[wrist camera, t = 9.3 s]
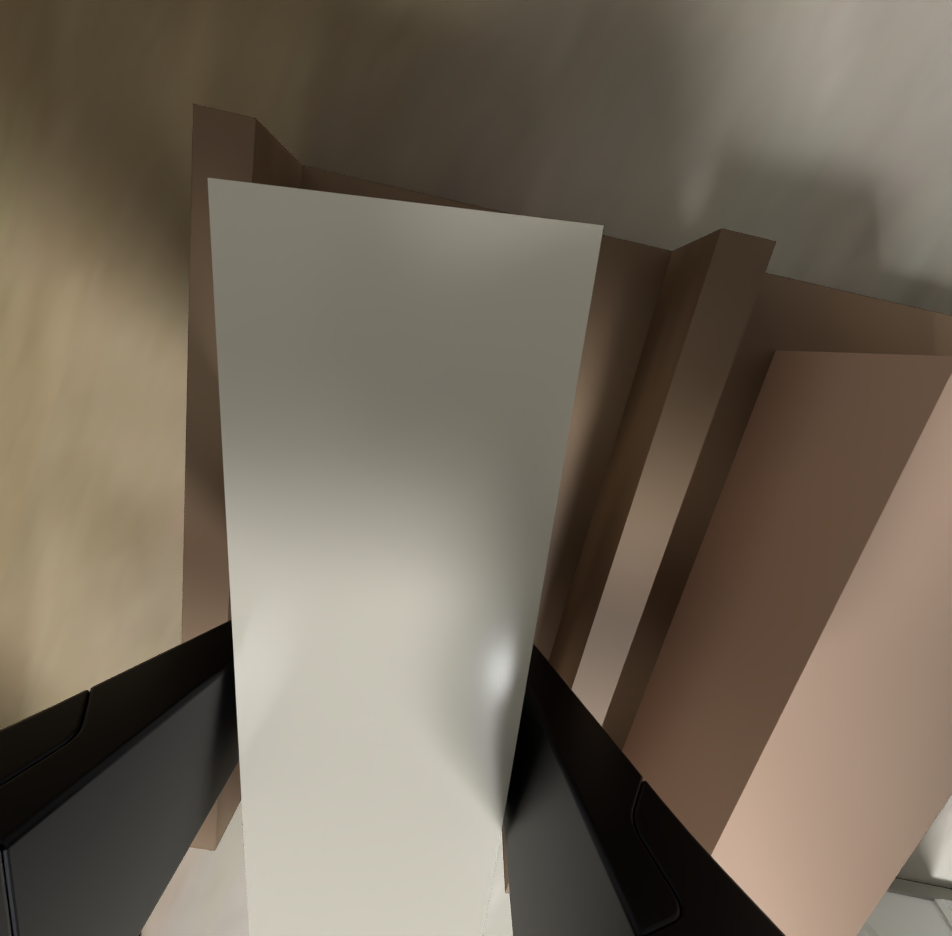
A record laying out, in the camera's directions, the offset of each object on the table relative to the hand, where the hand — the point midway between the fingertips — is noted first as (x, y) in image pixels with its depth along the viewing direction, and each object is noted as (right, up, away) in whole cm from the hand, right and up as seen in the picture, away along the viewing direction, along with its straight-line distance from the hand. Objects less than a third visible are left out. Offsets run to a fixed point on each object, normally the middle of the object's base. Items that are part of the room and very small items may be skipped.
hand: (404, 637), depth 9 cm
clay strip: (0, 0, +1) cm, 2 cm away
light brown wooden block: (+9, -1, +3) cm, 9 cm away
